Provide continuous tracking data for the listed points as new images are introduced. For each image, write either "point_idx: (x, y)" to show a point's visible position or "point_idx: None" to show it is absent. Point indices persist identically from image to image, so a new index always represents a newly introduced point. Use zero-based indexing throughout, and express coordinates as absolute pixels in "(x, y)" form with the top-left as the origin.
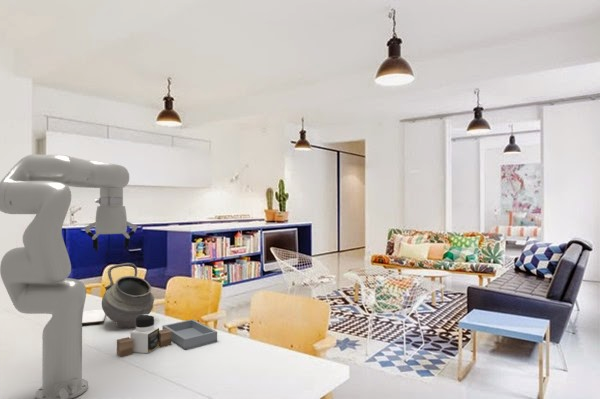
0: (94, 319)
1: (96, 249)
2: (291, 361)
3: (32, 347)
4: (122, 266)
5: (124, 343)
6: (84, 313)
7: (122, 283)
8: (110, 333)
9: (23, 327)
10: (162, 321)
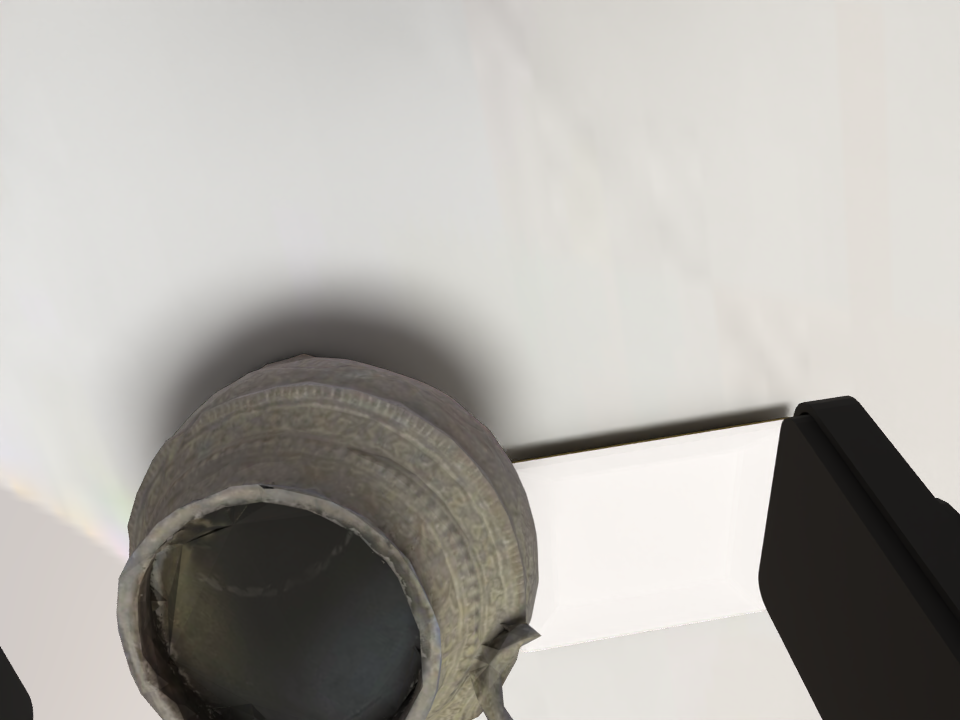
0: (569, 526)
1: (823, 418)
2: None
3: (885, 92)
4: None
5: None
6: (641, 610)
7: (391, 678)
8: (416, 272)
9: (940, 456)
10: (91, 457)
